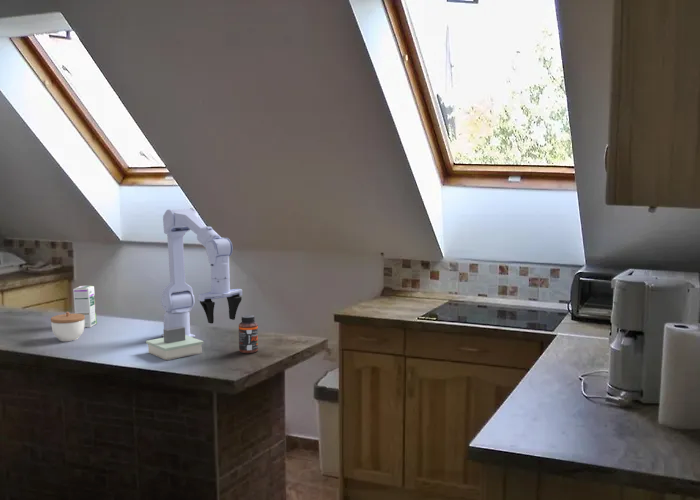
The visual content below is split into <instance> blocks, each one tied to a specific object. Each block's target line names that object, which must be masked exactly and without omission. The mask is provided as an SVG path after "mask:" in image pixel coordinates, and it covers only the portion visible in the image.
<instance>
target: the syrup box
mask: <svg viewBox="0 0 700 500" xmlns="http://www.w3.org/2000/svg"><path fill="white" fill-rule="evenodd" d="M72 294H73V308H74V314H83V315H84V316H85V326H84V329H85V327H87V328H92V327H94V326H95V325H97V324H98V322H97V320H98V319H97V309H96V307H97V306H96V295H95V294H96V293H95V286H94V285H79V286H78V287H77V286H76V287H75V288H73V290H72Z"/></svg>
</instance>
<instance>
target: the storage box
mask: <svg viewBox="0 0 700 500" xmlns="http://www.w3.org/2000/svg"><path fill="white" fill-rule="evenodd" d="M202 345H203V344H201V345H195V346H190V347H185V348H180V349H175V350H169V351H163V350H161V349H159V348H156V347H154V346H151V345H149V344H147V346H148V348H147V349H148V354H150V355H153V356H155V357H156V358H160V359H162V360H165V361H170V360H176V359H179V358H185V357H189V356H195V355H200V354H203V346H202Z"/></svg>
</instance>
